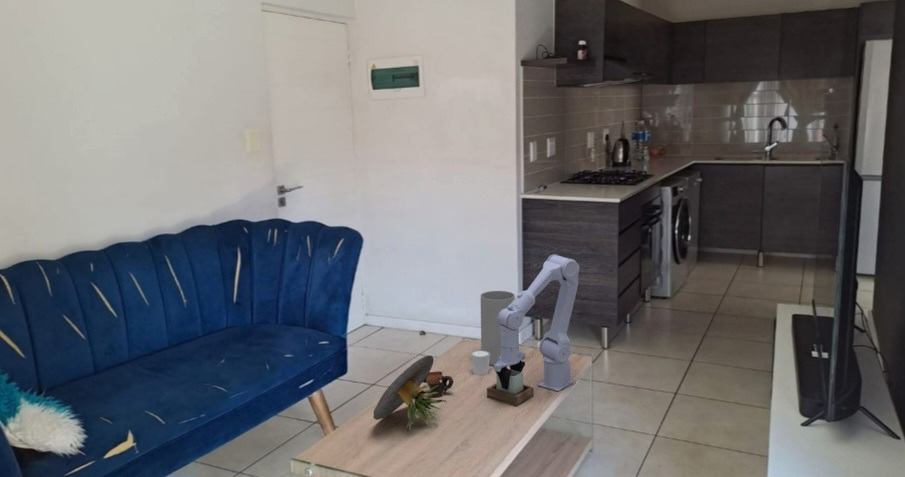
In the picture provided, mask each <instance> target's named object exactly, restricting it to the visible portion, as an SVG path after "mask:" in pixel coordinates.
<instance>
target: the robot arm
mask: <svg viewBox="0 0 905 477" xmlns="http://www.w3.org/2000/svg"><path fill="white" fill-rule="evenodd" d="M580 268H581V267H580V265H579V263H578V262H577V261H576V260H575V259H573V258H567V257H564V256H561V255H558V254H552V255H551V254H550V255H549V256H548V258H547V259H546V260H545V262H543V265H542V269H541V271H540V272H539V273H538V275H537V276H536V278H534V280H533V281H532V283H531V284H530V285H529V286H528V288H527V289H526V290H521V291H520V292H518V293H517V294H516V296H515V299H514V300H513V302H512V303H511V304H510V305H509V306H508V307H507V308H505V309H503V310H501V311H500V313H499V315H498V317H497V321H498V323H499V324H500V329H501V356H500V357H499V359H500V360H499V361H498V362H497V363H496V364H495V365H494V366H493V371H494V372H495V373H497V375H498V377H499V379H500V382H501V386H502V388H503V389H506V390H507V389H508V388H509V379H510V375H511V372H512V370H515V371H519V372H522V371H523V370H524V367H525V366H526V361H522V360H526V352H522V351H520V331H519V330H520V327H521V326H522V325H523V322H524V318H525V316H526V314H527V313H528V312H529V310H530V309H531V308H532V307H533V306H534V305H535V304H536V297H537V296H538V295H539V294H540V293H541V292H542V291H543V290H544V289H545V288H546V286H548V284H550V283H551V281H558V282H559V284H560V287H559V291H558V297H557V300H556V304H555V308H554V313H553V317H552V322H551V326H550V330H548V331H546V332H545V333H544V334H543V338H542V340H541V341H540V343H539V348H538V349H539V353H540V354H542V358H543V381H541V382H540V383H538V386H539V387H542V388H546V389H548V390H552V391H556V392H560V391H561V390H563V389H565V388H566V387H569V385H571V384H573V380H572V379H571V374H572V373H571V372H572V368H571V362H570V359H569V358H570V357H571V356H570V355H571V344H572V343H571V340H570V338H569V336H568V334H567V332H568V330H569V325H570V320H571V317H572V312H573V309H574V304H575V301H576V295H577V291H578V286H579V272H580ZM508 367H509V368H508ZM508 369H512V370H508ZM522 373H523V372H522Z"/></svg>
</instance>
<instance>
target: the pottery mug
mask: <svg viewBox="0 0 905 477" xmlns="http://www.w3.org/2000/svg"><path fill="white" fill-rule="evenodd" d="M423 383H424V384H428V387H429V389H428V390H430V389H431V388H433V387H435V386H436V385H439V386H437V387H436V388H435V389H433V390H432V391H431V392H430V393H433V392H438V393H435V394H432V395H429V397H428V398H433V397H435V398H437V397H443V396H444V393H447V391H448V390H449V389H451V388H452V387H453V385H454V379H453V377H452V376H450V375H445V376H444V375H443V372H442V371H439V370H438V371H437V370H436V371H431V372H429V374H428V375H427V377H426V378H425V379H424V381H423V382H422V384H423ZM428 390H426V391H428ZM428 394H429V393H428Z"/></svg>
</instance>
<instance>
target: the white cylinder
mask: <svg viewBox="0 0 905 477" xmlns="http://www.w3.org/2000/svg"><path fill="white" fill-rule="evenodd" d="M470 359H471V366H472V367H471V368H472V374H474V375H477V376H485V375H486V376H487V375H488V374H489V371H490V365H489V361H490V353H489V352H487V351H481V350H475V351H472V352H470Z"/></svg>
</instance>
